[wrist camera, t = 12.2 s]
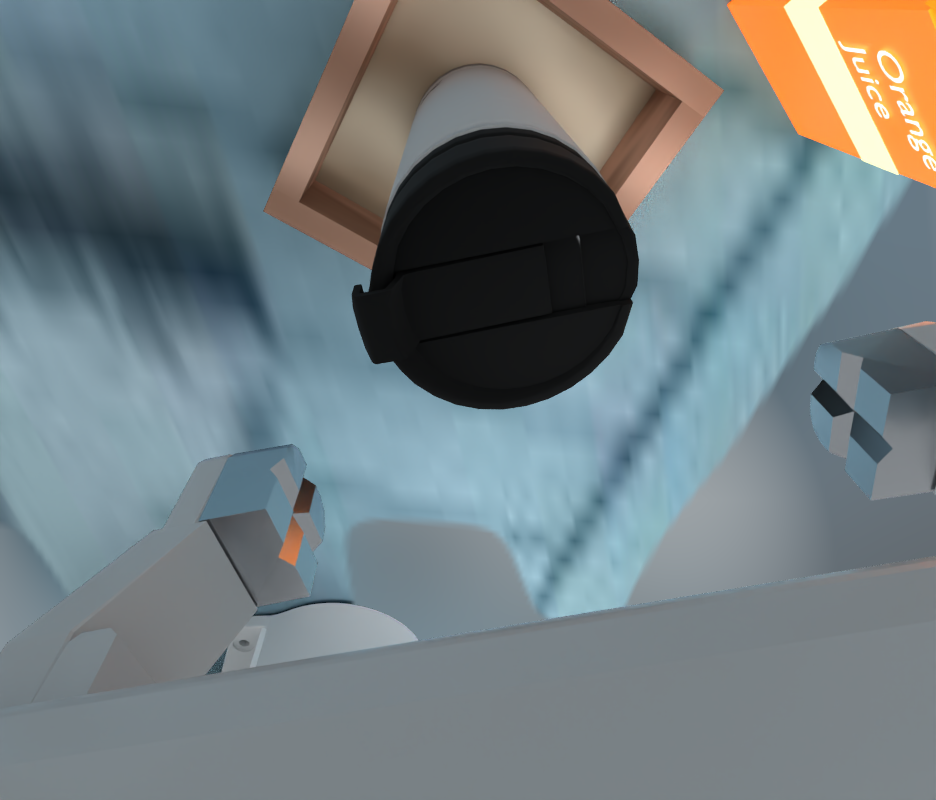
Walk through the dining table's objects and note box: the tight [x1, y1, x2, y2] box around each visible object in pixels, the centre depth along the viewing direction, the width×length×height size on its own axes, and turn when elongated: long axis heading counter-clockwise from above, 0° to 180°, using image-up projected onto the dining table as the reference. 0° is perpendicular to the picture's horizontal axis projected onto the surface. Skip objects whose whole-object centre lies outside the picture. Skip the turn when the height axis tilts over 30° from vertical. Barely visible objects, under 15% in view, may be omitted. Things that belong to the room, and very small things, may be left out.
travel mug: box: [352, 63, 639, 409], centre depth 22 cm, size 6×7×20 cm
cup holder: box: [264, 0, 724, 270], centre depth 29 cm, size 15×15×6 cm
